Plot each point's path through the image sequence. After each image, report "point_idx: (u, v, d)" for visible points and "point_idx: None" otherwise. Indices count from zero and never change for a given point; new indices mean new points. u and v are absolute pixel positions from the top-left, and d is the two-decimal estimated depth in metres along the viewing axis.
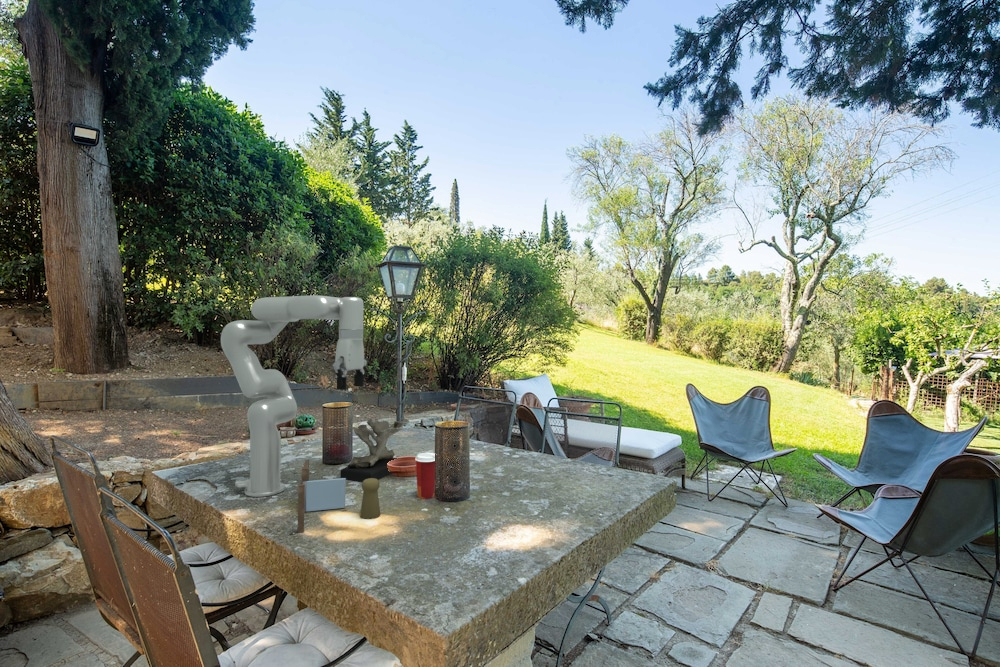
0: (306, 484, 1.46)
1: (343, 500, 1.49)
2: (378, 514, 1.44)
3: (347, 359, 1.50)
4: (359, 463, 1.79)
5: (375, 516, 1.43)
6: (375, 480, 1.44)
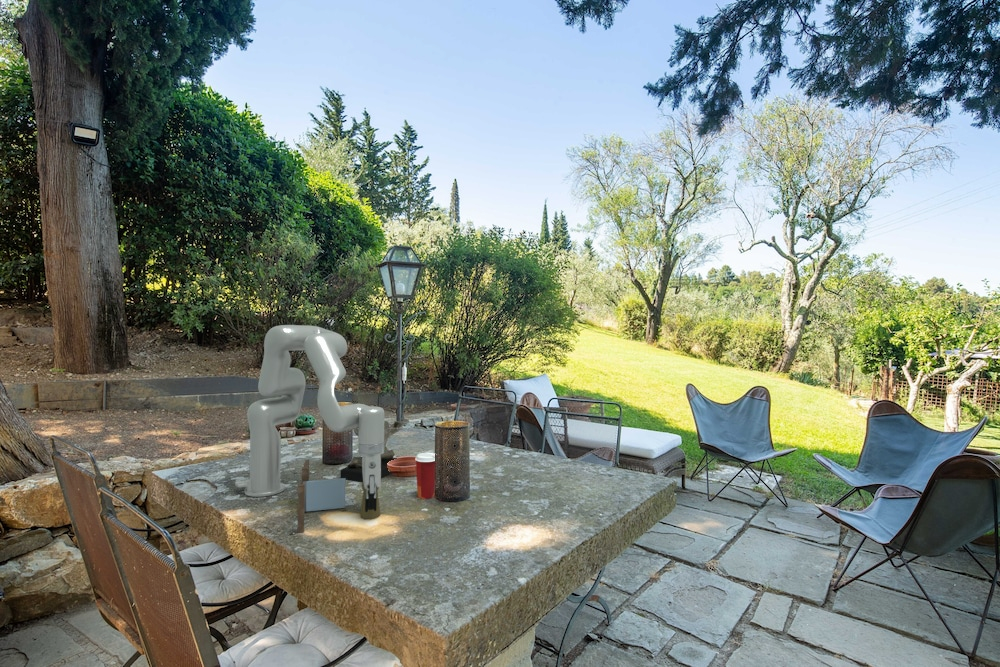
0: (306, 484, 1.46)
1: (343, 500, 1.49)
2: (378, 514, 1.44)
3: None
4: (359, 463, 1.79)
5: (375, 516, 1.43)
6: None
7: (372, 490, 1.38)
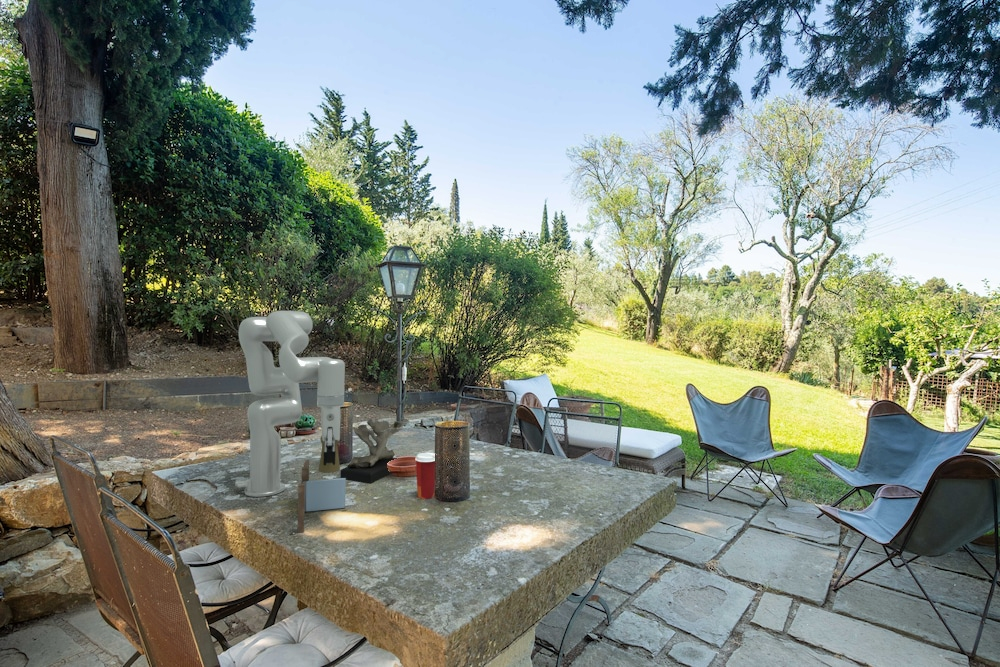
0: (306, 484, 1.46)
1: (343, 500, 1.49)
2: (337, 468, 1.40)
3: None
4: (359, 463, 1.79)
5: (334, 470, 1.39)
6: None
7: (330, 442, 1.35)
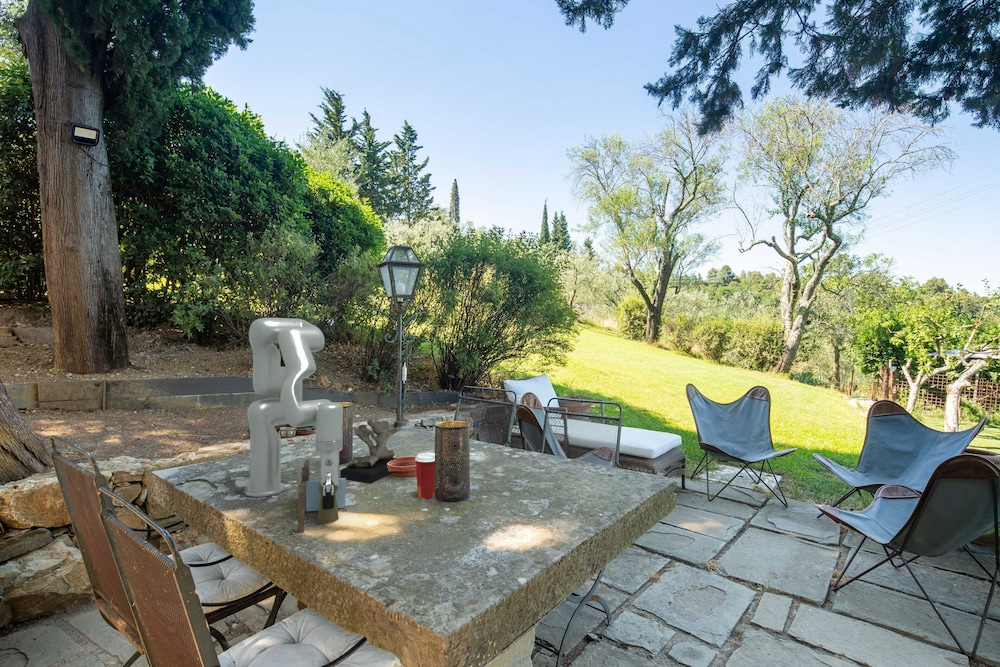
0: (306, 484, 1.46)
1: (343, 500, 1.49)
2: (336, 518, 1.40)
3: None
4: (359, 463, 1.79)
5: (332, 520, 1.39)
6: None
7: (328, 482, 1.33)
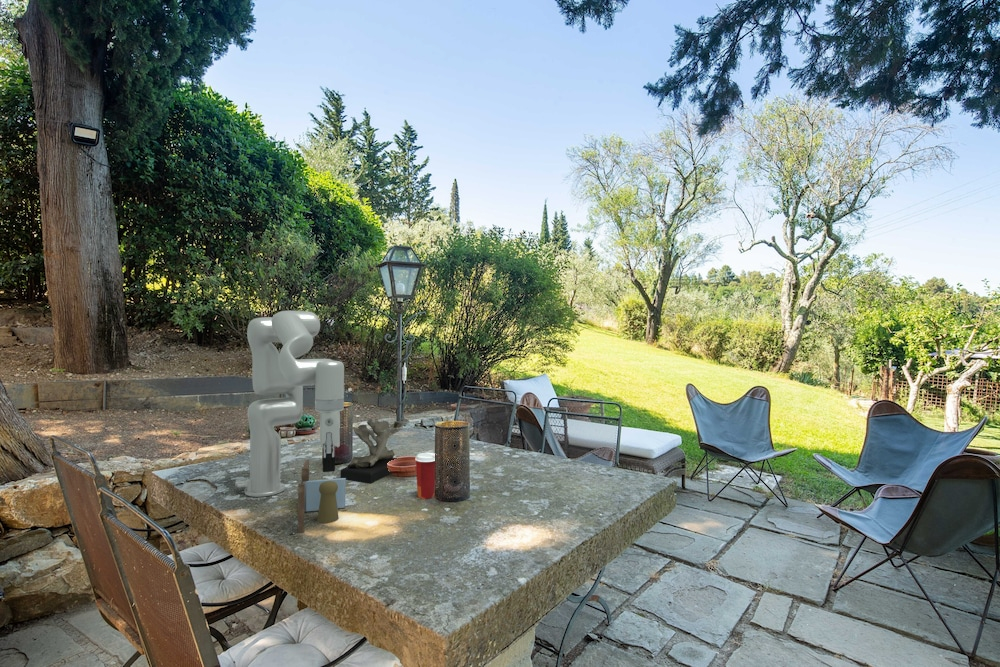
0: (306, 484, 1.46)
1: (343, 500, 1.49)
2: (336, 518, 1.40)
3: None
4: (359, 463, 1.79)
5: (332, 520, 1.39)
6: (333, 483, 1.41)
7: (329, 450, 1.28)
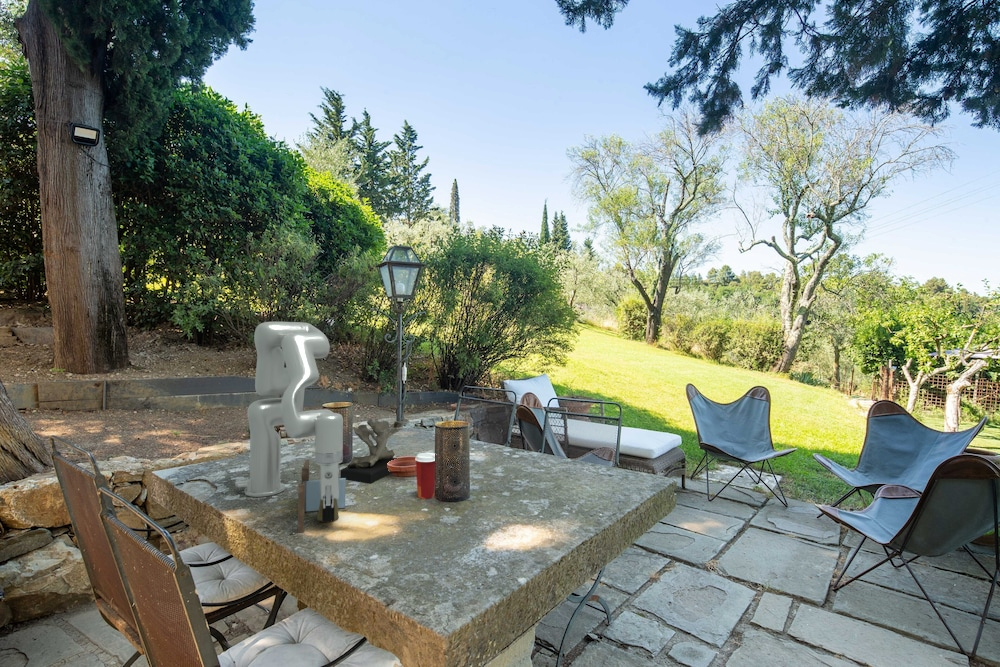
0: (306, 484, 1.46)
1: (343, 500, 1.49)
2: (336, 516, 1.41)
3: None
4: (359, 463, 1.79)
5: None
6: None
7: (328, 503, 1.32)
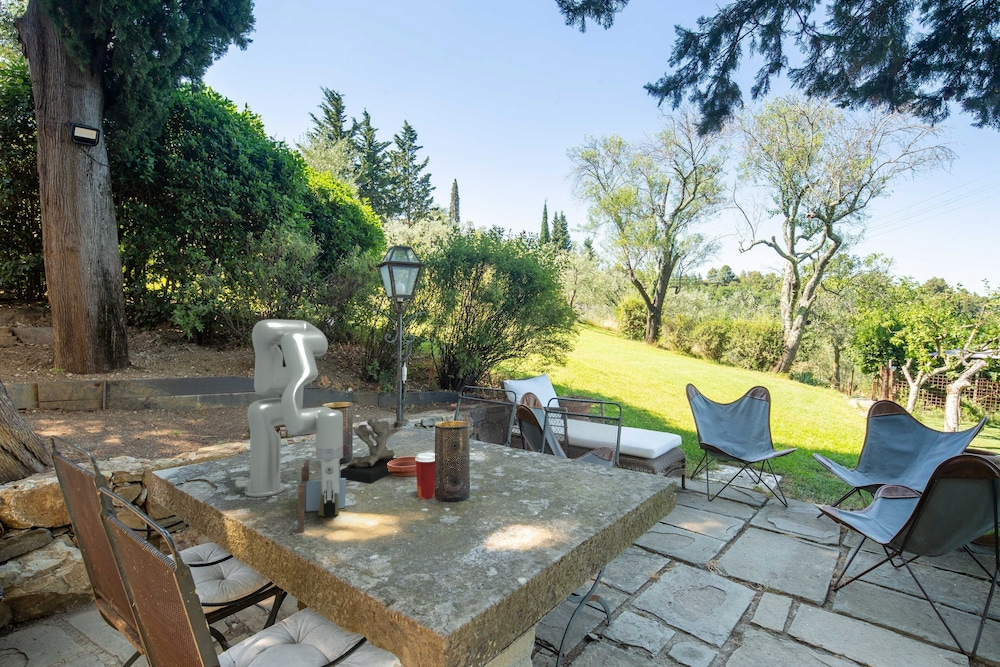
0: (306, 484, 1.46)
1: (343, 500, 1.49)
2: (337, 511, 1.43)
3: None
4: (359, 463, 1.79)
5: None
6: None
7: (329, 497, 1.35)
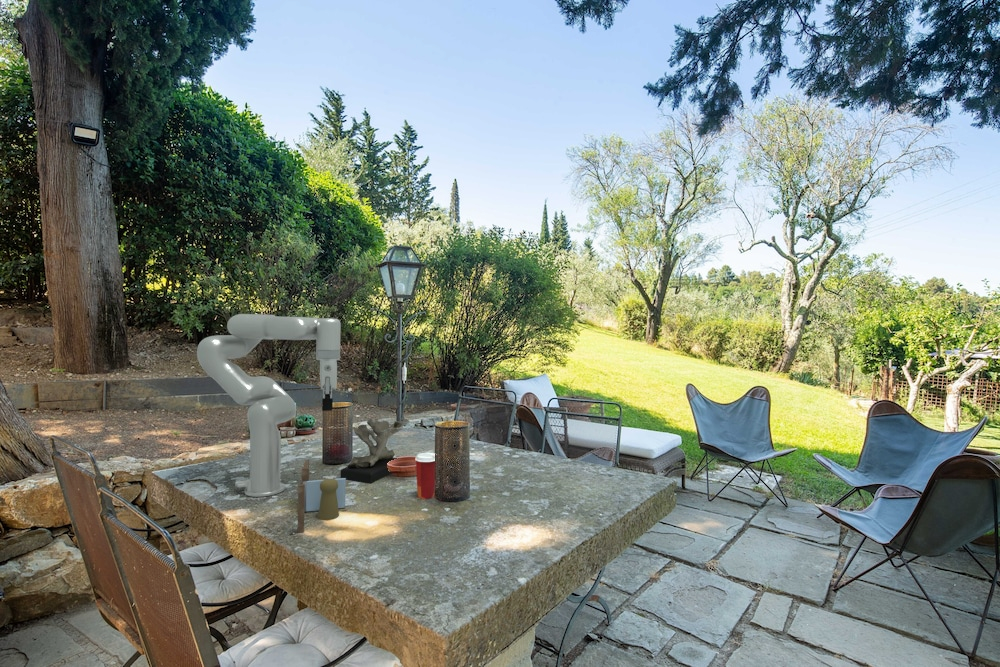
0: (306, 484, 1.46)
1: (343, 500, 1.49)
2: (337, 515, 1.43)
3: None
4: (359, 463, 1.79)
5: (333, 517, 1.42)
6: (333, 480, 1.43)
7: (327, 391, 1.54)
